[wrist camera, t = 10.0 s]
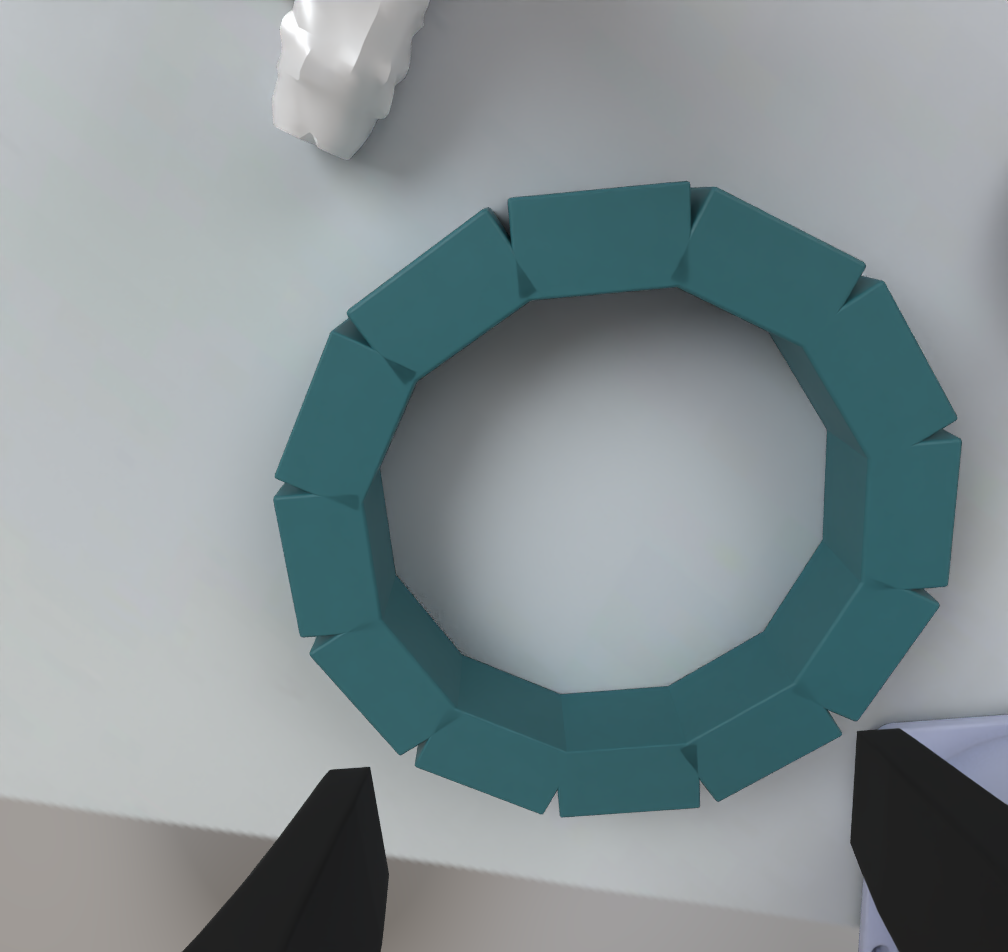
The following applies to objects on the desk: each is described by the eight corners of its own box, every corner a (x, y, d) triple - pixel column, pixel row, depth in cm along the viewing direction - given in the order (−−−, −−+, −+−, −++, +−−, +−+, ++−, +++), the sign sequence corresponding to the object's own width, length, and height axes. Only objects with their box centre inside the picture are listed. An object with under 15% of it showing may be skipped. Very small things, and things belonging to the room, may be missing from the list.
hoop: (885, 730, 23) (929, 792, 20) (355, 769, 23) (337, 834, 21) (928, 157, 18) (992, 151, 15) (255, 222, 18) (217, 226, 16)
